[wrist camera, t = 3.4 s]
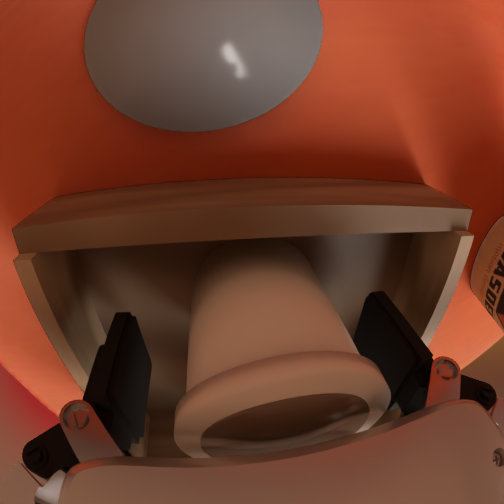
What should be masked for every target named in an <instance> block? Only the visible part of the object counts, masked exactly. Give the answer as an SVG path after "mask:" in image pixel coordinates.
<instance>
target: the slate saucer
mask: <svg viewBox="0 0 504 504" xmlns="http://www.w3.org/2000/svg"><path fill="white" fill-rule="evenodd" d="M322 35H323V22H322V13H321V10H320V6H319V3H318V0H97V2H96V3H95V5H94V7H93V9H92V12H91V14H90V16H89V19H88V23H87V26H86V31H85V37H84V55H85V62H86V66H87V69H88V72H89V75H90V78H91V80H92V81H93V83H94V85H95V87H96V89H97V90H98V91H99V93H100V94H101V95H102V96H103V98H104V99H105V100H106V101H107V102H108V103H109V104H110V105H111V106H113V107H114V108H115V109H116V110H118V111H119V112H121V113H122V114H124V115H125V116H127V117H129V118H131V119H133V120H135V121H137V122H139V123H142V124H145V125H148V126H151V127H154V128H159V129H163V130H168V131H178V132H203V131H211V130H218V129H223V128H227V127H232V126H235V125H238V124H241V123H244V122H247V121H249V120H252V119H254V118H256V117H258V116H260V115H262V114H264V113H266V112H268V111H269V110H271V109H272V108H274V107H276V106H277V105H279V104H280V103H281V102H282V101H284V100H285V99H286V98H288V97H289V96H290V95H291V94H292V93H293V92H294V91H295V90H296V89H297V88H298V87H299V86H300V85H301V83H302V82H303V81H304V79H305V78H306V77H307V76H308V74H309V72H310V71H311V69H312V67H313V65H314V64H315V61H316V59H317V56H318V53H319V51H320V47H321V42H322Z"/></svg>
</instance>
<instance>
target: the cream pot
mask: <svg viewBox="0 0 504 504" xmlns="http://www.w3.org/2000/svg"><path fill="white" fill-rule="evenodd" d="M390 399H391V391H390V389H389V387H388V385H387V383H386V381H385V379H384V377H383V375H382V373H381V372H380V370H379V368H378V366H377V365H376V364H375V363H374V362H373V361H371V360H370V359H368V358H366V357H364V356H361V355H360V354H359V352H358V350H357V348H356V346H355V344H354V342H353V340H352V339H351V337H350V335H349V333H348V331H347V329H346V327H345V325H344V323H343V322H342V320H341V318H340V316H339V314H338V312H337V311H336V309H335V307H334V305H333V303H332V301H331V300H330V298H329V296H328V294H327V292H326V291H325V289H324V287H323V285H322V283H321V282H320V280H319V278H318V276H317V275H316V273H315V271H314V269H313V268H312V266H311V264H310V262H309V261H308V259H307V258H306V256H305V255H304V254H303V253H302V252H301V251H300V250H299V249H298V248H297V247H295V246H294V245H292V244H290V243H289V242H286V241H284V240H282V239H278V238H274V237H272V238H252V239H236V240H233V241H230V242H228V243H226V244H224V245H222V246H220V247H219V248H217V249H216V250H214V251H213V252H212V253H211V254H210V255H208V256H207V257H206V259H205V260H204V261H203V262H202V264H201V265H200V267H199V268H198V270H197V272H196V275H195V278H194V282H193V291H192V302H191V314H190V328H189V343H188V361H187V384H186V394H185V395H184V396H183V397H182V398H181V399H180V401H179V403H178V404H177V406H176V410H175V419H174V440H175V442H176V445H177V446H178V447H179V448H180V449H181V450H182V451H183V452H184V453H186V454H187V455H189V456H191V457H192V458H212V457H229V456H241V455H251V454H260V453H267V452H274V451H281V450H287V449H292V448H298V447H303V446H308V445H312V444H317V443H321V442H325V441H329V440H333V439H337V438H341V437H344V436H348V435H351V434H355V433H358V432H361V431H364V430H368V429H369V428H370V427H371V426H373V425H374V424H375V423H376V422H377V421H378V420H379V418H380V417H381V416H382V415H383V414H384V412H385V411H386V409H387V407H388V405H389V403H390Z"/></svg>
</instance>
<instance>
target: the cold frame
mask: <svg viewBox="0 0 504 504" xmlns="http://www.w3.org/2000/svg"><path fill="white" fill-rule="evenodd" d="M472 211H473V210H472V209H471V208H469V207H467V206H466V205H464V204H462V203H460V202H458V201H457V200H455V199H453V198H451V197H449V196H447V195H446V194H444V193H442V192H440V191H438V190H436V189H434V188H432V187H430V186H428V185H424V184H415V183H404V182H392V181H378V180H362V179H340V178H290V177H284V178H234V179H212V180H195V181H181V182H168V183H157V184H146V185H137V186H128V187H120V188H112V189H104V190H97V191H90V192H83V193H77V194H71V195H65V196H59V197H54V198H53V199H51V200H50V201H48V202H47V203H46V204H44V205H43V206H41V207H40V208H39V209H37V210H36V211H35V212H33V213H32V214H30V215H29V216H28V217H27V218H25V219H24V220H23V221H21V222H20V223H19V224H18V225H16V226H15V227H14V228H13V229H12V232H13V235H14V238H15V241H16V245H17V248H18V251H19V255H18V256H17V257H16V258H15V259H14V260H13V262H14V265H15V268H16V270H17V273H18V275H19V278H20V280H21V283H22V285H23V288H24V290H25V292H26V294H27V297H28V299H29V301H30V303H31V305H32V307H33V309H34V311H35V314H36V316H37V318H38V319H39V321H40V323H41V325H42V327H43V329H44V331H45V333H46V335H47V336H48V338H49V340H50V342H51V343H52V345H53V347H54V348H55V350H56V352H57V353H58V355H59V357H60V358H61V360H62V362H63V363H64V365H65V366H66V368H67V369H68V371H69V372H70V374H71V375H72V377H73V378H74V380H75V381H76V383H77V384H78V385H79V387H80V388H81V390H82V391H83V392H84V393H85V389H86V386H87V382H88V379H89V376H90V373H91V369H92V366H93V363H94V360H95V357H96V354H97V351H98V348H99V346H100V345H103V344H105V341H106V338H107V335H108V332H109V329H110V326H111V323H112V321H113V318H114V315H115V313H116V312H130V313H131V315H132V316H136V318H137V322H138V325H139V328H140V331H141V334H142V337H143V339H144V342H145V345H146V348H147V351H148V353H149V356H150V359H151V362H152V371H151V378H150V385H149V393H148V401H147V410H146V420H145V431H144V437H143V438H140V442H139V444H134V443H131V448H130V450H129V451H130V453H131V454H132V455H133V456H134V457H158V458H192V457H191V456H189V455H187V454H186V453H184V452H183V451H182V450H181V449H180V448H179V447H178V446H177V445H176V442H175V440H174V419H175V410H176V406H177V404H178V403H179V401H180V399H181V398H182V397H183V396H184V395H185V394H186V384H187V361H188V343H189V328H190V314H191V302H192V291H193V282H194V278H195V275H196V272H197V270H198V268H199V267H200V265H201V264H202V262H203V261H204V260H205V259H206V257H207V256H208V255H210V254H211V253H212V252H213V251H214V250H216V249H217V248H219V247H220V246H222V245H224V244H226V243H228V242H230V241H233V240H236V239H252V238H272V237H274V238H278V239H282V240H284V241H286V242H289V243H290V244H292V245H294V246H295V247H297V248H298V249H299V250H300V251H301V252H302V253H303V254H304V255H305V256H306V258H307V259H308V261H309V262H310V264H311V266H312V268H313V269H314V271H315V273H316V275H317V276H318V278H319V280H320V282H321V283H322V285H323V287H324V289H325V291H326V292H327V294H328V296H329V298H330V300H331V301H332V303H333V305H334V307H335V309H336V311H337V312H338V314H339V316H340V318H341V320H342V322H343V323H344V325H345V327H346V329H347V331H348V333H349V335H350V337H351V339H352V340H353V338H354V334H355V331H356V328H357V325H358V322H359V319H360V315H361V312H362V309H363V305H364V302H365V298H366V297H367V296H368V295H369V294H370V293H371V292H377V291H384V292H385V293H386V295H387V296H388V297H389V298H390V300H391V301H392V302H393V303H394V304H395V306H396V307H397V308H398V310H399V311H400V312H401V313H402V315H403V316H404V317H405V318H406V320H407V321H408V322H409V324H410V325H411V326H412V327H413V329H414V330H415V331H416V333H417V334H418V335H419V337H420V338H421V339H422V341H423V342H424V343H425V345H426V346H427V347H428V345H429V344H430V342H431V340H432V338H433V336H434V334H435V332H436V330H437V328H438V326H439V324H440V322H441V320H442V318H443V316H444V314H445V312H446V310H447V307H448V305H449V303H450V301H451V298H452V296H453V294H454V291H455V289H456V287H457V284H458V282H459V279H460V276H461V274H462V271H463V269H464V266H465V263H466V260H467V257H468V254H469V251H470V248H471V245H472V242H473V239H474V235H472V234H471V233H470V232H468V231H467V230H468V226H469V222H470V219H471V215H472ZM400 414H401V409H400V407H398V408H396V409H393V410H390V411H388V409H386V411H385V412H384V414H383V415H382V416H381V417H380V418H379V420H378V421H377V422H376V423H375V424H374V425H373V426H371V427H370V428H369V429H371V428H374V427H377V426H379V425H382V424H385V423H388V422H390V421H393V420H396V419H399V417H400Z"/></svg>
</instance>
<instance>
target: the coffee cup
mask: <svg viewBox="0 0 504 504" xmlns="http://www.w3.org/2000/svg"><path fill="white" fill-rule="evenodd" d="M470 284H471V289H472V292H473V293H474V295H475V296H476V297H477V298H478V300H479V301H480V302H481V304H482V305H483V306H484V307H485V309H486V310H487V311H488V312H489V314H490V315H491V316H492V317H493V319H494V320H495V321H496V323H497V324H498V325H499V326H500V328H501V329H502V331H503V332H504V215H503V216H502V217H501V218H499V219H498V220H497V221H496V222H495V224H494V225H493V226H492V227H491V229H490V230H489V232H488V233H487V235H486V237H485V239H484V240H483V242H482V244H481V246H480V248H479V251H478V253H477V256H476V258H475V261H474V264H473V268H472V272H471V280H470Z"/></svg>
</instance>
